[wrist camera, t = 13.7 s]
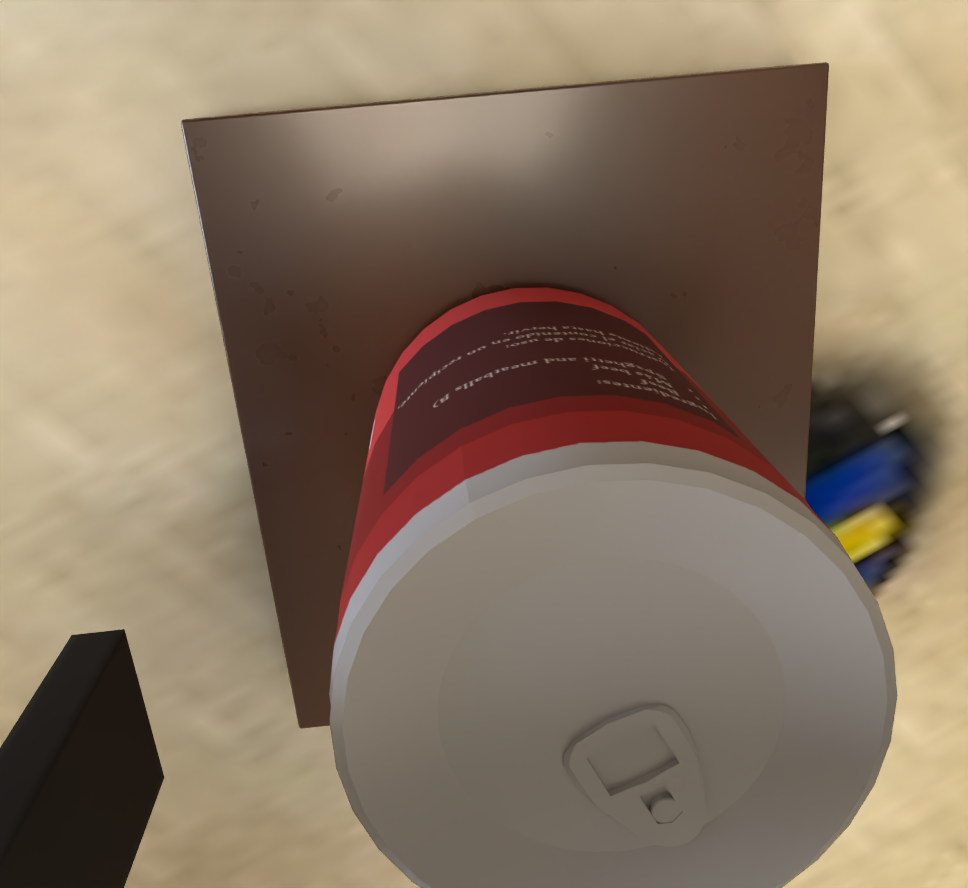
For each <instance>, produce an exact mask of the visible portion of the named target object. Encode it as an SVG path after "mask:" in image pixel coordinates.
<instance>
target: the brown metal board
mask: <svg viewBox="0 0 968 888" xmlns="http://www.w3.org/2000/svg"><path fill="white" fill-rule="evenodd" d="M828 72H829V64H828V63H826V62H825V63H812V64H799V65H787V66H776V67H765V68H754V69H742V70H731V71H720V72H709V73H698V74H686V75H675V76H664V77H653V78H641V79H630V80H619V81H608V82H596V83H585V84H574V85H563V86H552V87H540V88H529V89H518V90H507V91H495V92H484V93H473V94H462V95H451V96H439V97H428V98H417V99H406V100H394V101H383V102H372V103H361V104H349V105H338V106H327V107H316V108H305V109H293V110H282V111H271V112H260V113H248V114H237V115H226V116H215V117H204V118H194V119H185V120H182V121H181V126H182V131H183V136H184V141H185V146H186V151H187V156H188V162H189V167H190V172H191V177H192V182H193V187H194V192H195V197H196V203H197V208H198V213H199V218H200V223H201V228H202V233H203V238H204V243H205V249H206V254H207V259H208V264H209V269H210V274H211V279H212V284H213V289H214V295H215V300H216V305H217V310H218V315H219V320H220V325H221V330H222V335H223V341H224V346H225V351H226V356H227V361H228V366H229V371H230V376H231V381H232V387H233V392H234V397H235V402H236V407H237V412H238V417H239V422H240V428H241V433H242V438H243V443H244V448H245V453H246V458H247V463H248V468H249V474H250V479H251V484H252V489H253V494H254V499H255V504H256V509H257V514H258V520H259V525H260V530H261V535H262V540H263V545H264V550H265V555H266V560H267V566H268V571H269V576H270V581H271V586H272V591H273V596H274V601H275V606H276V612H277V617H278V622H279V627H280V632H281V637H282V642H283V647H284V653H285V658H286V663H287V668H288V673H289V678H290V683H291V688H292V693H293V699H294V704H295V709H296V714H297V719H298V724H299V727H300V728H310V727H319V726H329V725H330V711H331V703H330V696H329V691H330V681H331V670H332V660H333V650H334V642H335V637H336V631H337V626H338V618H339V608H340V600H341V594H342V589H343V584H344V579H345V573H346V568H347V563H348V557H349V552H350V547H351V542H352V536H353V531H354V526H355V520H356V515H357V510H358V504H359V499H360V494H361V489H362V483H363V478H364V473H365V467H366V462H367V457H368V452H369V446H370V441H371V436H372V430H373V425H374V420H375V414H376V410H377V407H378V404H379V401H380V398H381V395H382V391H383V388H384V385H385V382H386V380H387V378H388V377H389V375H390V373H391V371H392V370H393V368H394V366H395V364H396V363H397V361H398V359H399V357H400V356H401V354H402V353H403V352H404V350H405V349H406V348H407V347H408V346H409V345H410V344H411V343H412V342H413V340H414V339H415V338H416V337H417V336H418V335H419V334H420V333H421V332H422V330H423V329H425V328H426V327H427V326H429V325H430V324H431V323H433V322H434V321H436V320H437V319H438V318H440V317H441V316H442V315H444V314H445V313H446V312H448V311H449V310H451V309H453V308H455V307H457V306H459V305H462V304H464V303H466V302H468V301H470V300H473V299H475V298H477V297H479V296H482V295H486V294H491V293H495V292H499V291H504V290H508V289H513V288H544V287H548V288H554V289H560V290H565V291H571V292H576V293H581V294H584V295H586V296H589V297H591V298H594V299H596V300H599V301H601V302H604V303H606V304H609V305H611V306H613V307H615V308H616V309H618V310H619V311H621V312H622V313H624V314H625V315H627V316H628V317H630V318H631V319H633V320H634V321H636V322H638V323H639V324H640V325H641V326H642V327H643V328H644V329H645V330H646V331H647V332H648V333H649V334H650V335H651V336H652V337H653V338H654V339H655V340H656V341H657V342H658V343H659V344H660V345H661V346H662V347H663V348H664V349H665V350H666V351H667V352H668V353H669V354H670V355H671V357H672V358H673V359H674V360H675V361H676V362H677V363H678V364H679V365H680V366H681V367H682V368H683V369H684V370H685V372H686V373H687V374H688V375H689V376H690V377H691V378H692V379H693V380H694V381H695V382H696V383H697V384H698V386H699V387H700V388H701V389H702V390H703V391H704V392H705V393H706V394H707V395H708V396H709V397H710V398H711V399H712V401H713V402H714V403H715V404H716V405H717V406H718V407H719V408H720V409H721V410H722V411H723V412H724V413H725V414H726V416H727V417H728V418H729V419H730V420H731V421H732V422H733V423H734V424H735V425H736V426H737V427H738V428H739V430H740V431H741V432H742V433H743V434H744V435H745V436H746V437H747V438H748V439H749V440H750V441H751V442H752V443H753V445H754V446H755V447H756V448H757V449H758V450H759V451H760V452H761V453H762V454H763V455H764V456H765V457H766V458H767V460H768V461H769V462H770V463H771V464H772V465H773V466H774V467H775V468H776V469H777V470H778V471H779V472H780V473H781V475H782V476H783V477H784V478H785V479H786V480H787V481H788V482H789V483H790V484H791V485H792V486H793V487H794V489H795V490H796V491H797V492H798V493H799V494H800V495H801V496H802V497H803V498H804V499H805V491H806V473H807V455H808V437H809V419H810V400H811V382H812V364H813V346H814V327H815V309H816V291H817V273H818V254H819V236H820V218H821V200H822V181H823V163H824V145H825V127H826V108H827V90H828Z"/></svg>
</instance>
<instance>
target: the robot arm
mask: <svg viewBox="0 0 968 888" xmlns="http://www.w3.org/2000/svg"><path fill="white" fill-rule="evenodd" d="M163 779H164V775H163V771H162V767H161V763H160V760H159V756H158V752H157V749H156V745H155V741H154V737H153V734H152V730H151V726H150V723H149V719H148V715H147V711H146V708H145V704H144V700H143V697H142V693H141V689H140V685H139V682H138V678H137V674H136V671H135V667H134V663H133V659H132V656H131V652H130V648H129V644H128V641H127V637H126V633H125V630H124V629H123V630H114V631H105V632H96V633H87V634H78V635H72V636H71V637H70V639H69V640H68V642H67V644H66V645H65V647H64V648H63V650H62V652H61V653H60V655H59V656H58V658H57V659H56V661H55V663H54V664H53V666H52V667H51V669H50V670H49V672H48V674H47V675H46V677H45V678H44V680H43V681H42V683H41V685H40V686H39V688H38V689H37V691H36V692H35V694H34V696H33V697H32V699H31V700H30V702H29V703H28V705H27V707H26V708H25V710H24V711H23V713H22V714H21V716H20V718H19V719H18V721H17V722H16V724H15V726H14V727H13V729H12V730H11V732H10V733H9V735H8V737H7V738H6V740H5V741H4V743H3V744H2V746H1V748H0V888H124V886H125V883H126V880H127V878H128V875H129V872H130V870H131V867H132V864H133V861H134V859H135V856H136V853H137V850H138V848H139V845H140V842H141V840H142V837H143V834H144V831H145V829H146V826H147V823H148V820H149V818H150V815H151V812H152V809H153V807H154V804H155V801H156V799H157V796H158V793H159V790H160V788H161V785H162V782H163Z"/></svg>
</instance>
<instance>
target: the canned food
mask: <svg viewBox="0 0 968 888" xmlns="http://www.w3.org/2000/svg"><path fill="white" fill-rule="evenodd" d="M329 696H330V703H331V711H330V727H331V735H332V742H333V749H334V756H335V763H336V769H337V771H338V774H339V776H340V779H341V781H342V784H343V787H344V789H345V792H346V794H347V797H348V799H349V802H350V805H351V807H352V810H353V812H354V813H355V815H356V816H357V818H358V819H359V821H360V822H361V824H362V825H363V826H364V828H365V829H366V831H367V832H368V834H369V835H370V837H371V838H372V840H373V841H374V843H375V844H376V846H377V847H378V849H379V850H380V851H381V852H382V853H383V854H384V855H385V856H386V857H387V858H388V859H389V860H390V861H391V862H392V863H393V864H394V865H395V866H397V867H398V868H399V869H400V870H401V871H402V872H403V873H404V874H405V875H406V876H407V877H408V878H409V879H410V880H411V881H412V882H413V883H415V884H416V885H418V886H419V887H421V888H782V887H783V886H785V885H786V884H787V883H788V882H790V881H791V880H792V879H794V878H795V877H796V876H797V875H799V874H800V873H801V872H803V871H804V870H805V869H806V868H808V867H809V866H810V865H812V864H813V863H814V862H815V861H817V860H818V859H819V858H820V857H821V855H822V854H823V853H824V852H825V851H826V850H827V849H828V848H829V847H830V846H831V844H832V843H833V842H834V841H835V840H836V839H837V838H838V837H839V836H840V835H841V834H842V832H843V831H844V830H845V829H846V828H847V827H848V826H849V825H850V823H851V822H852V820H853V818H854V817H855V815H856V814H857V812H858V810H859V809H860V807H861V805H862V804H863V802H864V801H865V799H866V797H867V796H868V794H869V793H870V791H871V789H872V788H873V786H874V784H875V782H876V779H877V776H878V774H879V771H880V768H881V766H882V763H883V760H884V758H885V755H886V752H887V750H888V747H889V744H890V742H891V735H892V728H893V721H894V714H895V707H896V700H897V687H896V676H895V664H894V652H893V647H892V644H891V641H890V638H889V635H888V632H887V629H886V626H885V623H884V620H883V617H882V614H881V611H880V608H879V605H878V602H877V601H876V599H875V598H874V596H873V594H872V593H871V591H870V590H869V588H868V586H867V585H866V583H865V582H864V580H863V578H862V576H861V575H860V573H859V572H858V570H857V569H856V567H855V565H854V564H853V562H852V561H851V559H850V557H849V556H848V554H847V553H846V551H845V549H844V548H843V546H842V545H841V543H840V541H839V540H838V538H837V537H836V536H835V534H834V533H833V532H832V531H831V530H830V529H829V528H828V527H827V526H826V525H825V523H824V522H823V521H822V520H821V519H820V518H819V517H818V516H817V515H816V514H815V513H814V511H813V510H812V509H811V507H810V506H809V505H808V503H807V502H806V500H805V499H804V498H803V497H802V496H801V495H800V494H799V493H798V492H797V491H796V490H795V489H794V487H793V486H792V485H791V484H790V483H789V482H788V481H787V480H786V479H785V478H784V477H783V476H782V475H781V473H780V472H779V471H778V470H777V469H776V468H775V467H774V466H773V465H772V464H771V463H770V462H769V461H768V460H767V458H766V457H765V456H764V455H763V454H762V453H761V452H760V451H759V450H758V449H757V448H756V447H755V446H754V445H753V443H752V442H751V441H750V440H749V439H748V438H747V437H746V436H745V435H744V434H743V433H742V432H741V431H740V430H739V428H738V427H737V426H736V425H735V424H734V423H733V422H732V421H731V420H730V419H729V418H728V417H727V416H726V414H725V413H724V412H723V411H722V410H721V409H720V408H719V407H718V406H717V405H716V404H715V403H714V402H713V401H712V399H711V398H710V397H709V396H708V395H707V394H706V393H705V392H704V391H703V390H702V389H701V388H700V387H699V386H698V384H697V383H696V382H695V381H694V380H693V379H692V378H691V377H690V376H689V375H688V374H687V373H686V372H685V370H684V369H683V368H682V367H681V366H680V365H679V364H678V363H677V362H676V361H675V360H674V359H673V358H672V357H671V355H670V354H669V353H668V352H667V351H666V350H665V349H664V348H663V347H662V346H661V345H660V344H659V343H658V342H657V341H656V340H655V339H654V338H653V337H652V336H651V335H650V334H649V333H648V332H647V331H646V330H645V329H644V328H643V327H642V326H641V325H640V324H639V323H638V322H636V321H634V320H633V319H631V318H630V317H628V316H627V315H625V314H624V313H622V312H621V311H619V310H618V309H616V308H615V307H613V306H611V305H609V304H606V303H604V302H601V301H599V300H596V299H594V298H591V297H589V296H586V295H584V294H581V293H576V292H571V291H565V290H560V289H554V288H548V287H544V288H513V289H508V290H504V291H499V292H495V293H491V294H486V295H482V296H479V297H477V298H475V299H473V300H470V301H468V302H466V303H464V304H462V305H459V306H457V307H455V308H453V309H451V310H449V311H448V312H446V313H445V314H444V315H442V316H441V317H440V318H438V319H437V320H436V321H434V322H433V323H431V324H430V325H429V326H427V327H426V328H425V329H423V330H422V332H421V333H420V334H419V335H418V336H417V337H416V338H415V339H414V340H413V342H412V343H411V344H410V345H409V346H408V347H407V348H406V349H405V350H404V352H403V353H402V354H401V356H400V357H399V359H398V361H397V363H396V364H395V366H394V368H393V370H392V371H391V373H390V375H389V377H388V378H387V380H386V382H385V385H384V388H383V391H382V395H381V398H380V401H379V404H378V407H377V410H376V414H375V420H374V425H373V430H372V436H371V441H370V446H369V452H368V457H367V462H366V467H365V473H364V478H363V483H362V489H361V494H360V499H359V504H358V510H357V515H356V520H355V526H354V531H353V536H352V542H351V547H350V552H349V557H348V563H347V568H346V573H345V579H344V584H343V589H342V594H341V600H340V608H339V618H338V626H337V631H336V637H335V642H334V650H333V660H332V670H331V681H330V691H329Z"/></svg>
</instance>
